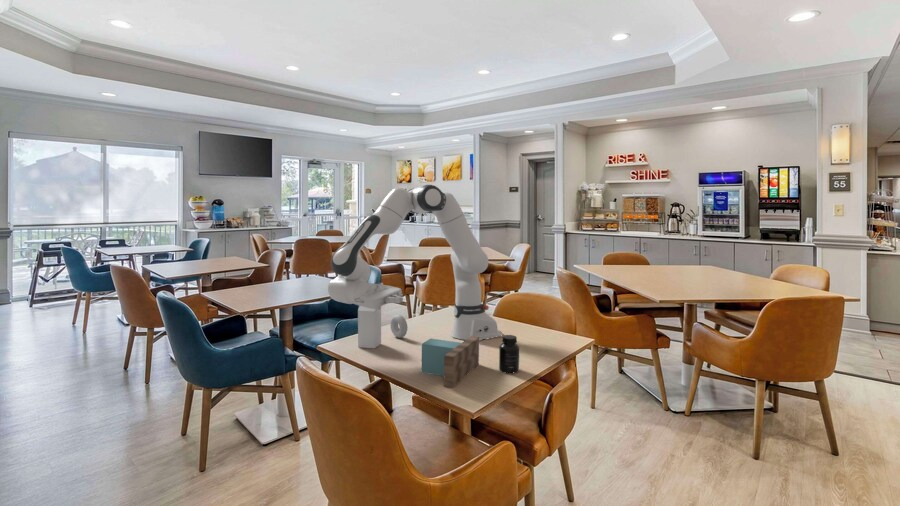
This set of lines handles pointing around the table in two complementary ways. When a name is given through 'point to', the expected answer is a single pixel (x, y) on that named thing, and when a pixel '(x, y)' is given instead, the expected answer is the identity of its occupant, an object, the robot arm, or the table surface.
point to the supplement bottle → (509, 354)
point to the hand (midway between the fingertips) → (401, 300)
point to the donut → (402, 324)
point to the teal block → (435, 355)
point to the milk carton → (369, 327)
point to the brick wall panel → (461, 361)
